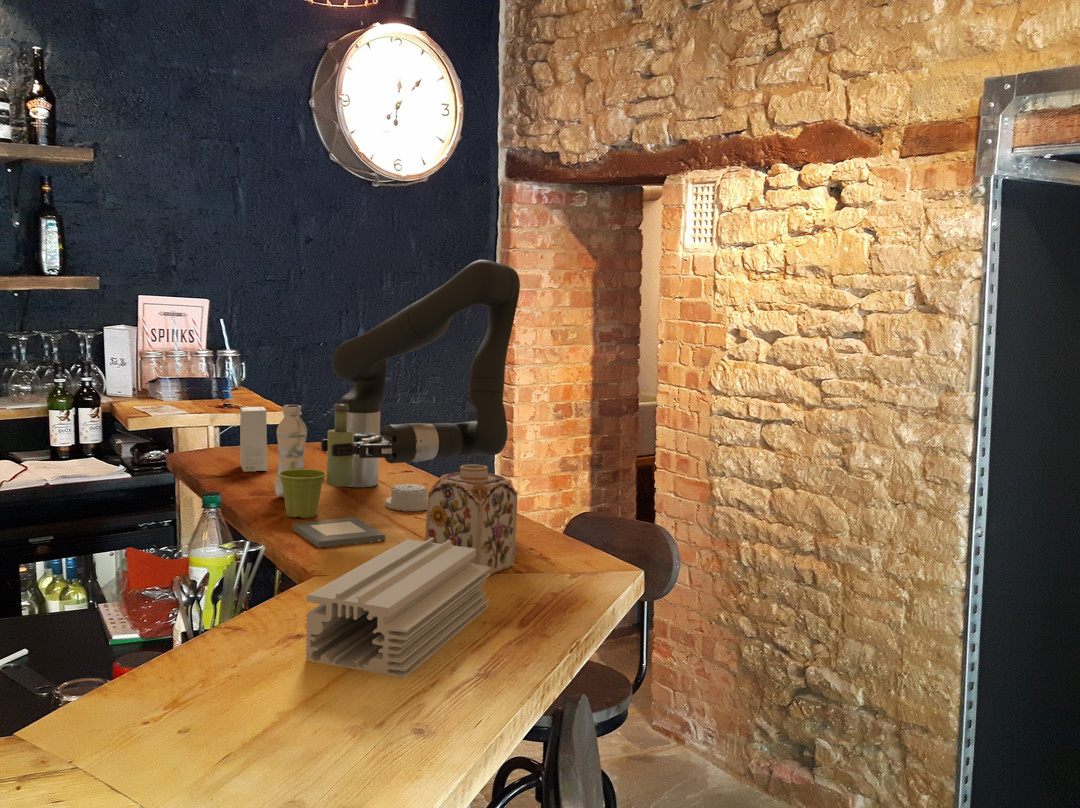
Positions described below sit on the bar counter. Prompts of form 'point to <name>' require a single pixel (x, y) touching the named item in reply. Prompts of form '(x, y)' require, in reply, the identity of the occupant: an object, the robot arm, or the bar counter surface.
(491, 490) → the decorative jar
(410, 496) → the mechanical component
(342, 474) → the bitters bottle
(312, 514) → the plant pot
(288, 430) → the plastic bottle
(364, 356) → the robot arm
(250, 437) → the skincare box
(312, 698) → the bar counter surface
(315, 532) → the board
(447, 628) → the aluminum extrusion profile
